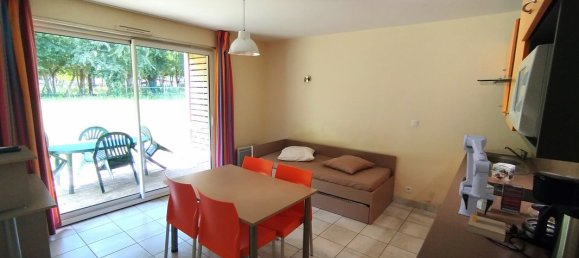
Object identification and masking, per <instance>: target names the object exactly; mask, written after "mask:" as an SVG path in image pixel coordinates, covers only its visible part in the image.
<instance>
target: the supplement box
mask: <svg viewBox="0 0 579 258" xmlns="http://www.w3.org/2000/svg"><path fill="white" fill-rule="evenodd" d="M523 194H524V187H523V185H520V184H519V185H518V184H515V183H514V184H513V183H508V182H503V184H502V191H501V198H500V206H499V210H500V212H502V213H503V212H504V213H508V214H513V215H517V216H520V212H521V209H522V208H521V206H522V201H523V200H522V199H523Z"/></svg>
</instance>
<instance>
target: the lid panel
mask: <svg viewBox="0 0 579 258" xmlns="http://www.w3.org/2000/svg"><path fill="white" fill-rule="evenodd" d="M468 225H469V226H473V227H476V228H479V229H483V230H486V231H490V232H493V233H497V234H500V235H504V236H505V237H506V222H503V221H499V220H495V219H491V218H488V217H483V216H479V215H478V212H477V213H473V214H471V216H470V217H469V220H468V223H467V226H468Z"/></svg>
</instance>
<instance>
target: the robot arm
mask: <svg viewBox="0 0 579 258" xmlns="http://www.w3.org/2000/svg"><path fill="white" fill-rule="evenodd" d="M487 139H488V138H487V137H486V135H475V134H467V133H466V134H464V135H463V145H462V147H463V150H464V151H466V154H467V156H466V157H467V159H466V177H465V178H466V180H464V181H461V182H460V184H459V189H458V191H459V192H458V193H459V197H461V199H460V200H461V202H460V207H459V210H458V212H457V214H459V215H461V216H462V215H463V216H466V217H469V218H470V216H471V214H473V213H477V214H478V211H477V209H478V208H477V201H479V200H480V199H485V200H487V203H486V208H485V211H484V214H483V215H484V216H485V215H487V213H488V212H489V211H488V209H489V208H490V207H491V208H492V206H491V205H494V203H497V200H498V197H497V196H494V195H493V196H490V195H487V194H486V188H487V184H488V179H489V175H490V174H491V172H492V162H491V161H490V160H488V157H487V153H486V152H485V151H484V149H485V147H486V145H487V143H488V142H487Z"/></svg>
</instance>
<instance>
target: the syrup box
mask: <svg viewBox="0 0 579 258" xmlns="http://www.w3.org/2000/svg"><path fill="white" fill-rule="evenodd" d="M494 191H495V186H493V185H490V184H489V183H487V188H486V194H487V195H490V196H493V197H494ZM486 203H487V200H485V199H480V200H479V201H477V208H476V209H479V210H480V211H483V212H485V208H486ZM492 205H493V204H492ZM492 205H491V207H490V208H489V209H488V211H487V212H491V210H492Z"/></svg>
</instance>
